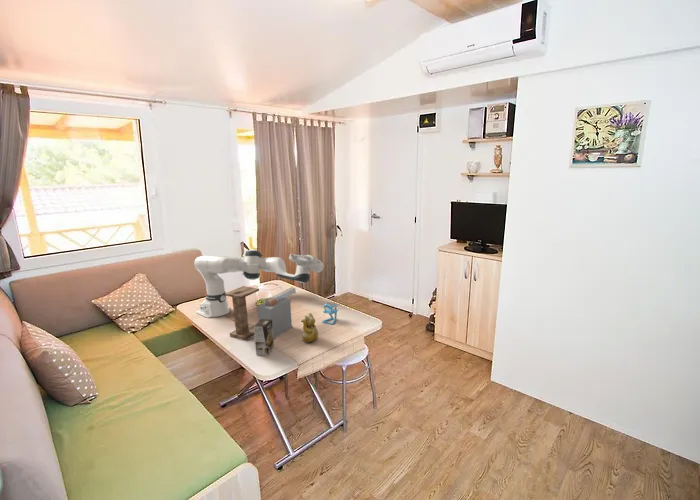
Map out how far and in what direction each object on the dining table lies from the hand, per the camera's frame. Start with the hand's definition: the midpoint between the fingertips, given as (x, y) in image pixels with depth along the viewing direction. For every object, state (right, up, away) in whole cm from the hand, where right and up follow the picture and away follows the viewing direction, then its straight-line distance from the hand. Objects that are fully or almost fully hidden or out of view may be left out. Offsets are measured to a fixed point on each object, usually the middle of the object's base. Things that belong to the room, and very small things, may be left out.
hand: (296, 255), depth 225 cm
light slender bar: (-7, -25, -17) cm, 31 cm away
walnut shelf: (-26, -45, -20) cm, 56 cm away
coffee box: (-10, -49, -41) cm, 65 cm away
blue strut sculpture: (+22, -41, -7) cm, 47 cm away
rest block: (-9, -44, -18) cm, 49 cm away
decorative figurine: (+12, -46, -31) cm, 57 cm away
